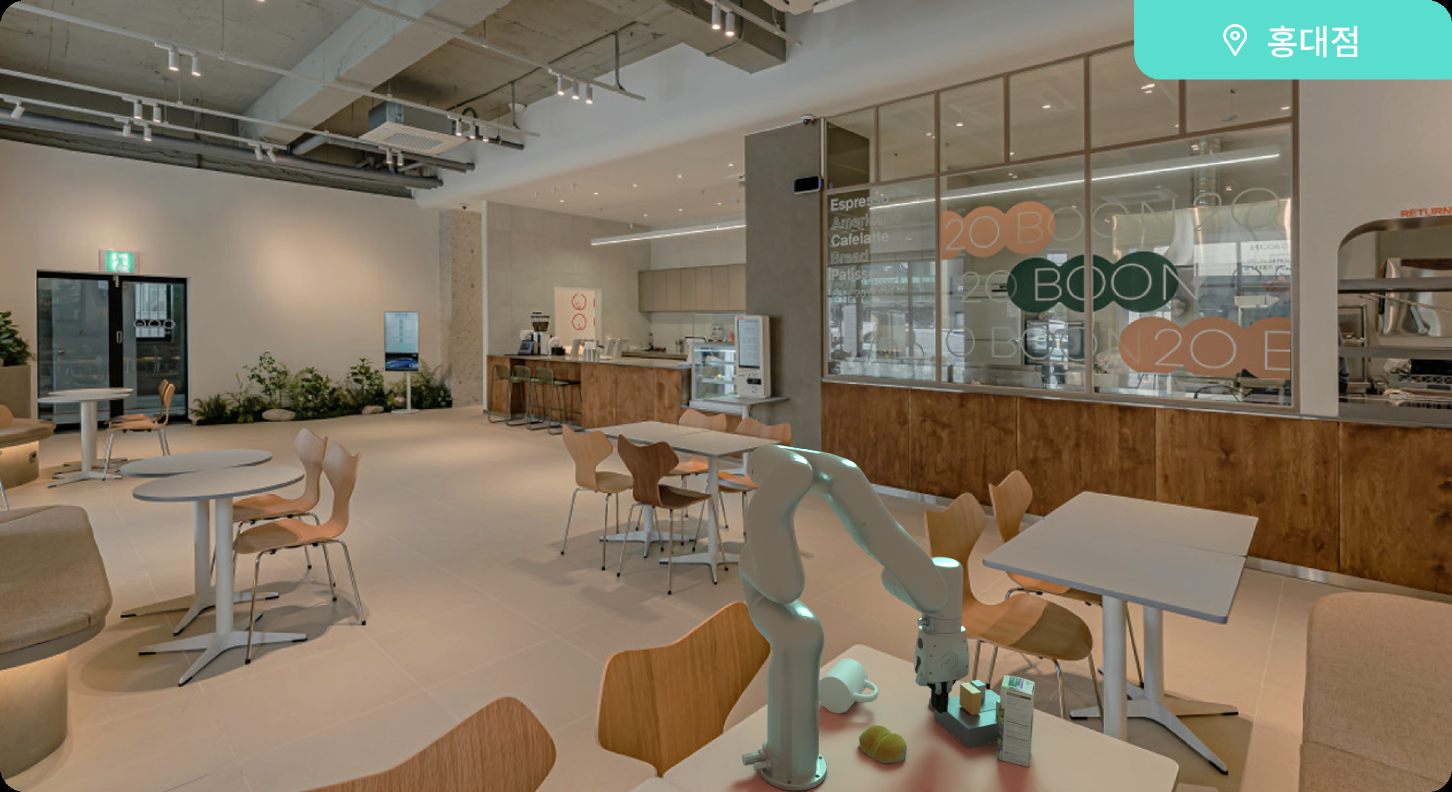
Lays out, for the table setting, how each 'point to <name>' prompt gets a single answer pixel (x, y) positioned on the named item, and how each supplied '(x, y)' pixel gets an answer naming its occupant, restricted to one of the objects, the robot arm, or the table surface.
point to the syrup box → (1015, 720)
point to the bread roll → (883, 744)
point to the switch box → (972, 719)
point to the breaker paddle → (970, 698)
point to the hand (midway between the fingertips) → (939, 709)
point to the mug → (845, 686)
